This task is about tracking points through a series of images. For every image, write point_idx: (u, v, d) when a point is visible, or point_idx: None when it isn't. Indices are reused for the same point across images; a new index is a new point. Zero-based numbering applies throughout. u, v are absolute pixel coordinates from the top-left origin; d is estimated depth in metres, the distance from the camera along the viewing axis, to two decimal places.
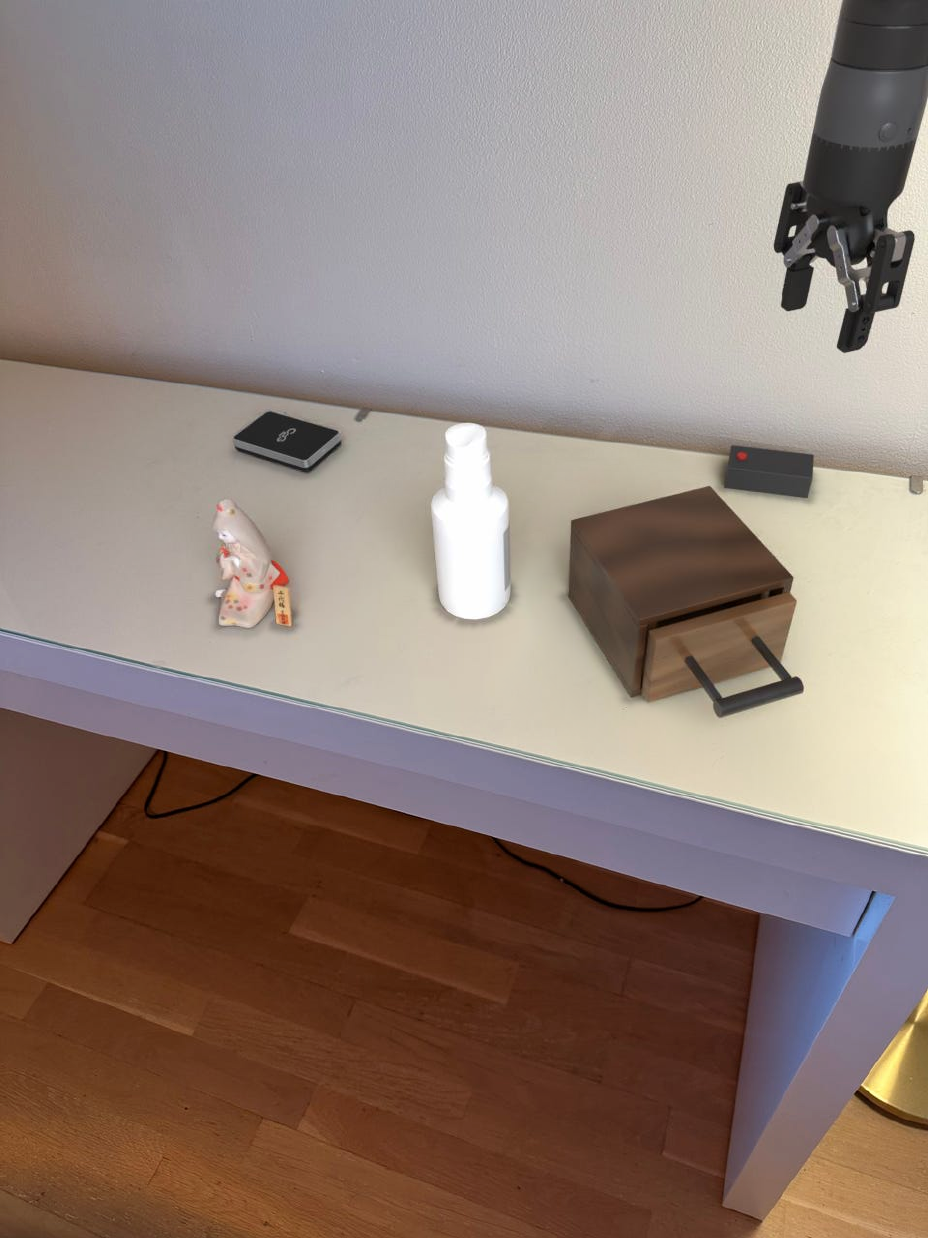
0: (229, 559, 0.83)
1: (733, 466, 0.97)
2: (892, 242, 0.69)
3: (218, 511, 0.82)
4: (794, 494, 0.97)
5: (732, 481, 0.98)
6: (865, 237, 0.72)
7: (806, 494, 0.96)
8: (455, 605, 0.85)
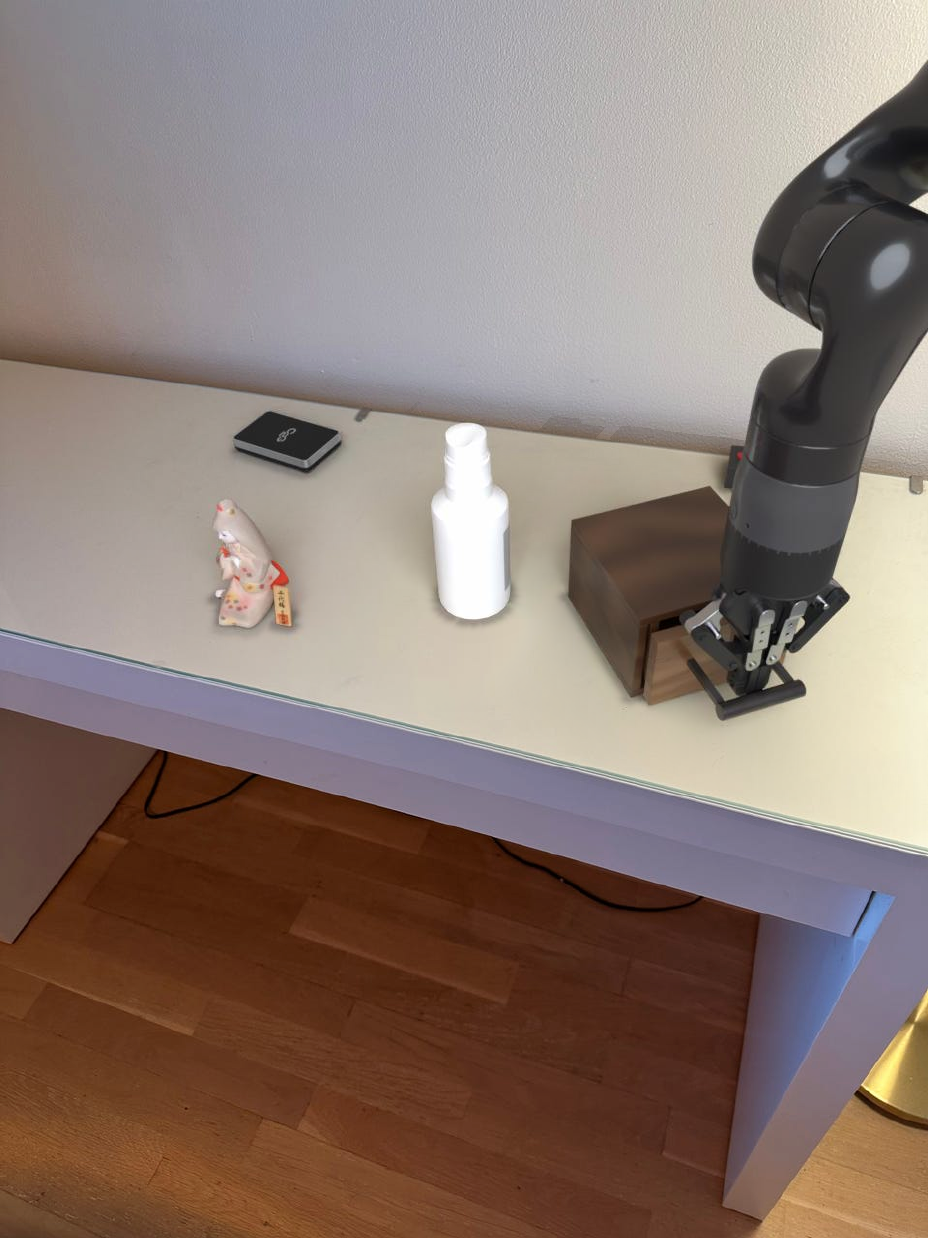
0: (229, 559, 0.83)
1: (733, 466, 0.97)
2: (682, 624, 0.66)
3: (218, 511, 0.82)
4: None
5: (732, 481, 0.98)
6: None
7: None
8: (455, 605, 0.85)
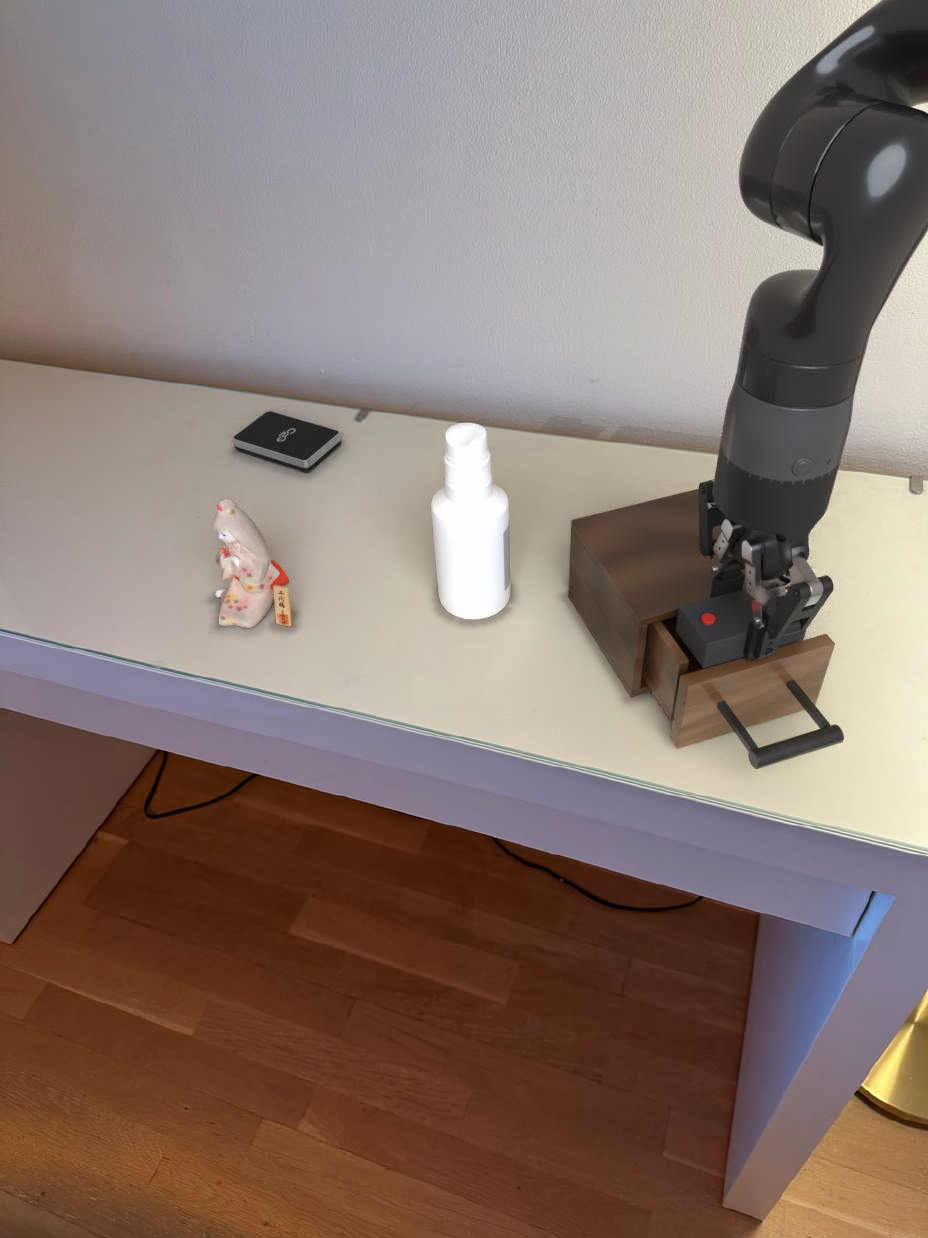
0: (229, 559, 0.83)
1: (712, 638, 0.68)
2: (807, 597, 0.60)
3: (218, 511, 0.82)
4: (788, 641, 0.70)
5: (713, 657, 0.68)
6: (783, 564, 0.61)
7: (802, 636, 0.70)
8: (455, 605, 0.85)
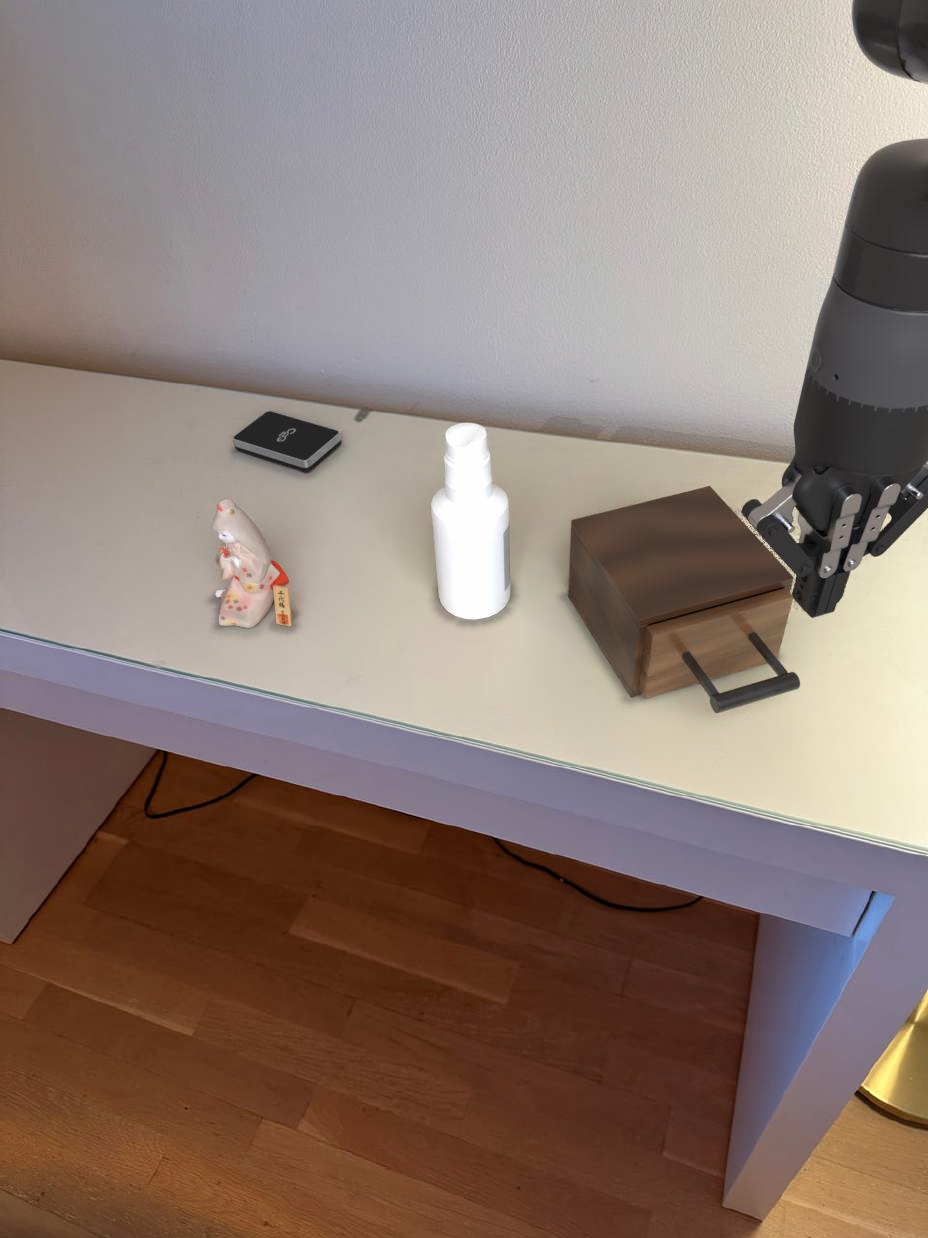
0: (229, 559, 0.83)
1: None
2: (745, 517, 0.54)
3: (218, 511, 0.82)
4: None
5: None
6: (782, 478, 0.53)
7: None
8: (455, 605, 0.85)
